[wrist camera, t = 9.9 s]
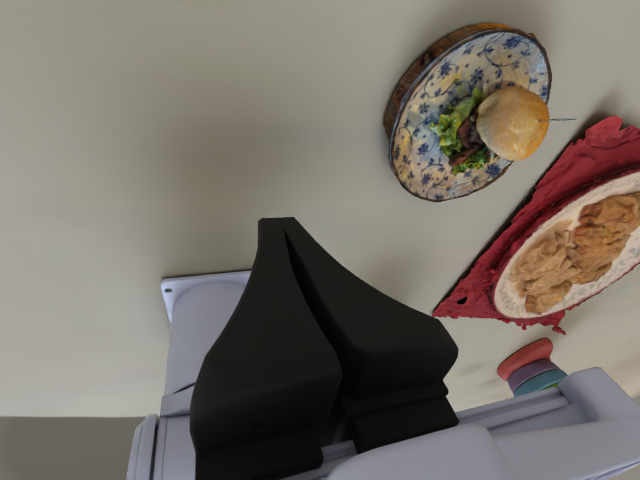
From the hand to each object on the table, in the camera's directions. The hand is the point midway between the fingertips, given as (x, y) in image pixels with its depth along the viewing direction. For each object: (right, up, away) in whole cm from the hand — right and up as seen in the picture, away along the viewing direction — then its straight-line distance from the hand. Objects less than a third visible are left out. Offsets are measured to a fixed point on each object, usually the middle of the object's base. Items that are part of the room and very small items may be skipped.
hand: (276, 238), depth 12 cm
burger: (+12, +9, +11) cm, 18 cm away
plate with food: (+30, -1, +26) cm, 40 cm away
